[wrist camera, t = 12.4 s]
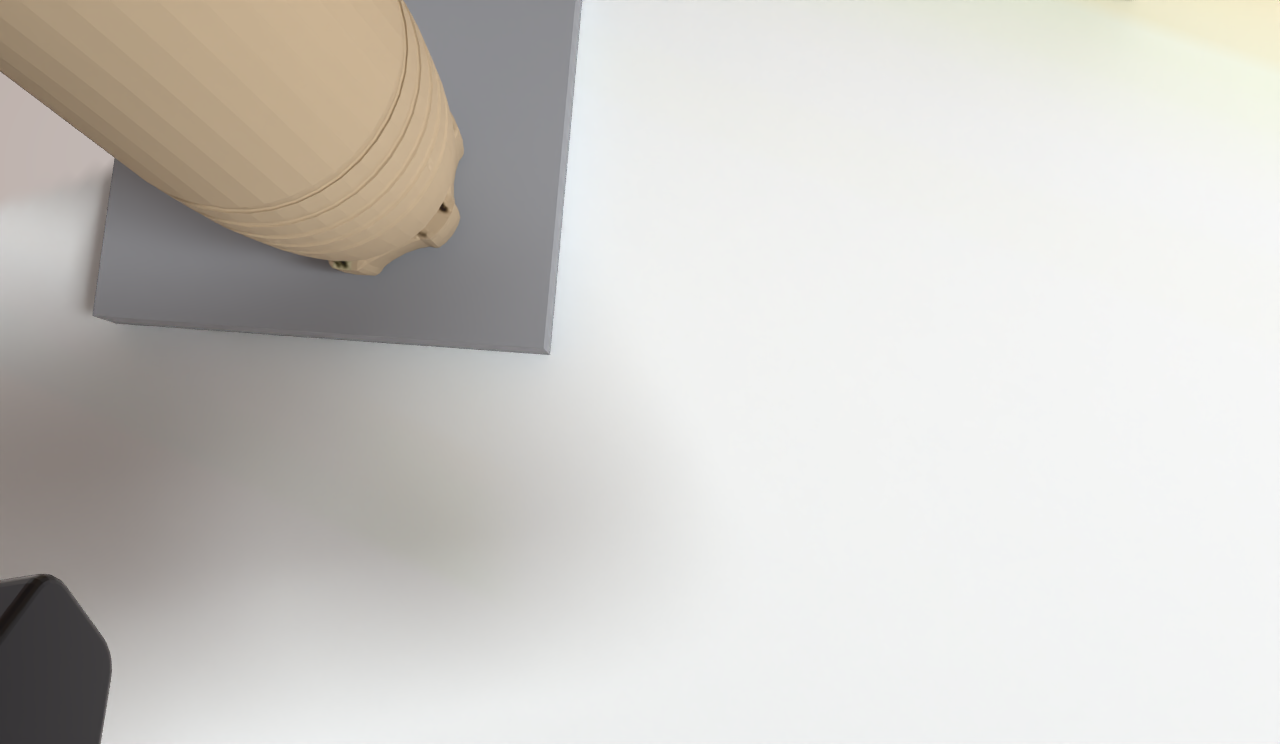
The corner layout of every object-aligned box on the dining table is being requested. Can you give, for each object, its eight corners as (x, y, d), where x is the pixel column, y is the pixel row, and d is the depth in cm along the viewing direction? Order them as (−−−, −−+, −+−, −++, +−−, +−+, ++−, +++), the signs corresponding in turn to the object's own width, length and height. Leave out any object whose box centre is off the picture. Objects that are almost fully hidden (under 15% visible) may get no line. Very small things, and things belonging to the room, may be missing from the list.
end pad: (549, 354, 20) (543, 348, 19) (116, 323, 20) (92, 315, 19) (582, -8, 20) (578, -29, 20) (165, -30, 21) (143, -51, 20)
